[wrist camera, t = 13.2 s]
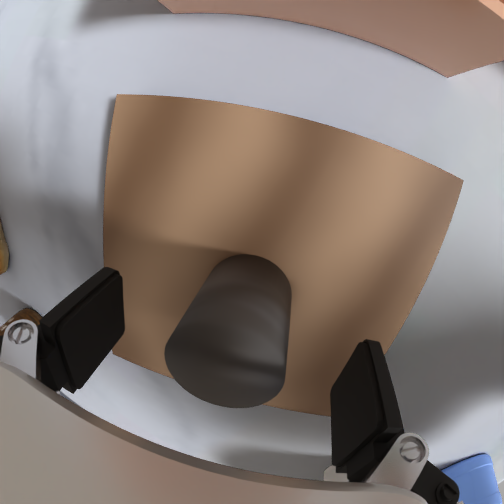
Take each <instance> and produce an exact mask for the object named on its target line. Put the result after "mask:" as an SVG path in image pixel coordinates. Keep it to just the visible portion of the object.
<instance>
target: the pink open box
mask: <svg viewBox="0 0 504 504" xmlns="http://www.w3.org/2000/svg"><path fill="white" fill-rule="evenodd" d="M158 1H159V2H160V3H161V4H163V5H164V6H165V7H166V8H168V9H169V10H170V11H171V12H172V13H173V14H175V13H225V14H241V15H252V16H260V17H268V18H275V19H282V20H287V21H293V22H298V23H303V24H308V25H312V26H317V27H321V28H325V29H329V30H332V31H336V32H340V33H343V34H346V35H350V36H353V37H356V38H359V39H362V40H365V41H368V42H371V43H373V44H376V45H379V46H381V47H384V48H387V49H389V50H392V51H394V52H396V53H399V54H401V55H403V56H406V57H408V58H410V59H412V60H414V61H416V62H419V63H421V64H423V65H425V66H427V67H429V68H431V69H432V70H434V71H436V72H438V73H440V74H442V75H444V76H445V77H447V78H448V77H451V76H454V75H457V74H460V73H463V72H466V71H469V70H473V69H476V68H479V67H483V66H486V65H489V64H493V63H497V62H500V61H504V0H158Z"/></svg>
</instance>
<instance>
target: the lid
mask: <svg viewBox="0 0 504 504" xmlns="http://www.w3.org/2000/svg"><path fill="white" fill-rule="evenodd" d="M463 181H464V180H462V179H460V178H458V177H456V176H454V175H452V174H450V173H448V172H446V171H444V170H442V169H440V168H438V167H436V166H434V165H432V164H430V163H427V162H425V161H423V160H421V159H419V158H416V157H414V156H412V155H409V154H407V153H405V152H402V151H400V150H397V149H395V148H392V147H390V146H387V145H385V144H382V143H379V142H377V141H374V140H371V139H368V138H365V137H363V136H360V135H357V134H354V133H351V132H348V131H345V130H341V129H338V128H335V127H332V126H328V125H325V124H321V123H318V122H314V121H310V120H307V119H303V118H299V117H295V116H291V115H287V114H282V113H278V112H273V111H269V110H264V109H259V108H254V107H248V106H243V105H237V104H231V103H224V102H217V101H210V100H202V99H193V98H183V97H171V96H156V95H125V94H117V97H116V102H115V107H114V113H113V119H112V125H111V132H110V139H109V147H108V156H107V165H106V177H105V191H104V215H103V254H104V267H109V268H112V269H115V270H118V271H119V273H120V275H121V276H122V278H123V301H124V318H125V331H124V334H123V336H122V337H121V338H120V339H119V341H118V342H117V343H116V344H115V346H114V347H113V348H112V351H113V354H114V355H116V356H119V357H121V358H123V359H125V360H128V361H130V362H132V363H135V364H137V365H139V366H142V367H144V368H147V369H149V370H152V371H154V372H157V373H160V374H162V375H165V376H168V377H170V378H173V379H175V380H176V381H177V382H178V383H179V384H180V385H181V386H182V387H183V388H184V389H185V390H187V391H188V392H189V393H191V394H192V395H194V396H196V397H198V398H200V399H202V400H204V401H206V402H209V403H212V404H215V405H219V406H223V407H230V408H249V407H254V406H258V405H262V404H263V405H267V406H272V407H277V408H281V409H287V410H292V411H298V412H303V413H310V414H316V415H323V416H331V405H330V391H331V388H332V386H333V384H334V383H335V381H336V380H337V378H338V376H339V375H340V373H341V372H342V370H343V368H344V367H345V365H346V363H347V362H348V360H349V358H350V357H351V355H352V353H353V352H354V350H355V348H356V346H357V345H358V343H359V342H363V341H364V340H365V339H368V340H373V341H378V342H380V344H381V347H382V350H383V353H384V355H385V354H386V352H387V350H388V349H389V347H390V346H391V344H392V342H393V341H394V339H395V337H396V336H397V334H398V332H399V331H400V329H401V327H402V326H403V324H404V322H405V320H406V318H407V317H408V315H409V313H410V311H411V309H412V307H413V305H414V304H415V302H416V300H417V298H418V296H419V294H420V292H421V290H422V288H423V286H424V284H425V282H426V279H427V277H428V275H429V273H430V271H431V269H432V266H433V264H434V262H435V260H436V257H437V255H438V253H439V250H440V248H441V245H442V243H443V240H444V238H445V235H446V232H447V230H448V227H449V224H450V222H451V219H452V216H453V213H454V210H455V207H456V204H457V201H458V198H459V194H460V191H461V188H462V184H463Z"/></svg>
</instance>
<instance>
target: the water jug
mask: <svg viewBox="0 0 504 504" xmlns="http://www.w3.org/2000/svg"><path fill="white" fill-rule="evenodd" d="M441 471H442V472H443V473H444V474H446V475H447V476H448V477H450V478H451V479H452V480H454V481H455V482H456V483H457V485H458V487H459V492H460V494H459V500H458V502H461V501H463V503H464V504H502V498H501V494H500V492H499V489H498V485H497V481H496V477H495V473H494V469H493V463H492V459H491V457H490V456H489V455H487V454H482V455H477V456H474V457H471V458H468V459H466V460H463V461H461V462H458V463H456V464H454V465H452V466H449V467H447V468H445V469H443V470H441Z"/></svg>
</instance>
